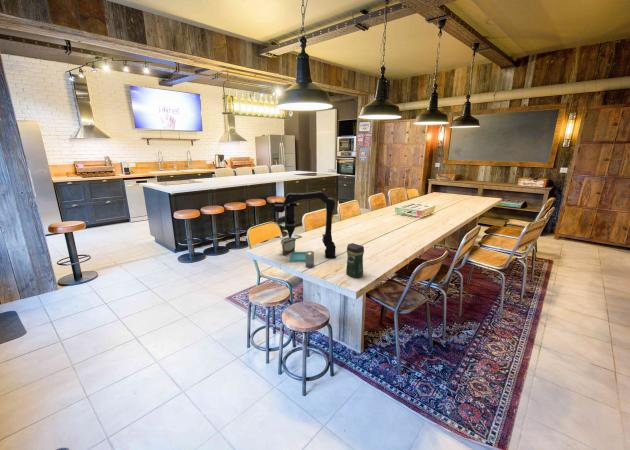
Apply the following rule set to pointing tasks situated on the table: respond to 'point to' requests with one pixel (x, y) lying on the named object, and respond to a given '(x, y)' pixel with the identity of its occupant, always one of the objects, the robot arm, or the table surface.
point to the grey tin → (309, 259)
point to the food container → (288, 245)
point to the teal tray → (297, 257)
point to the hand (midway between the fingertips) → (289, 235)
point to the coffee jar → (355, 260)
